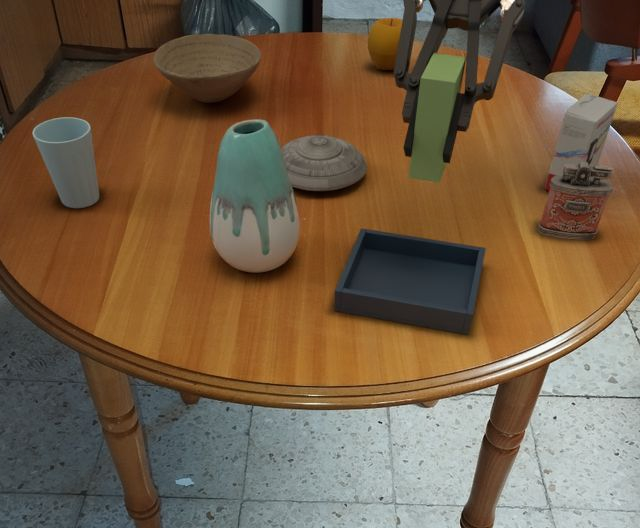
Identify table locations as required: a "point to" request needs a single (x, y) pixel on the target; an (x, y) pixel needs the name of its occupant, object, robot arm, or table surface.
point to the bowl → (208, 64)
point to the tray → (411, 280)
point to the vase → (253, 200)
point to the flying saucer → (322, 163)
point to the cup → (69, 159)
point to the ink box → (582, 134)
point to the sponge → (435, 115)
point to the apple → (384, 42)
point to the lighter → (576, 201)
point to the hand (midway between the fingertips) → (427, 155)
